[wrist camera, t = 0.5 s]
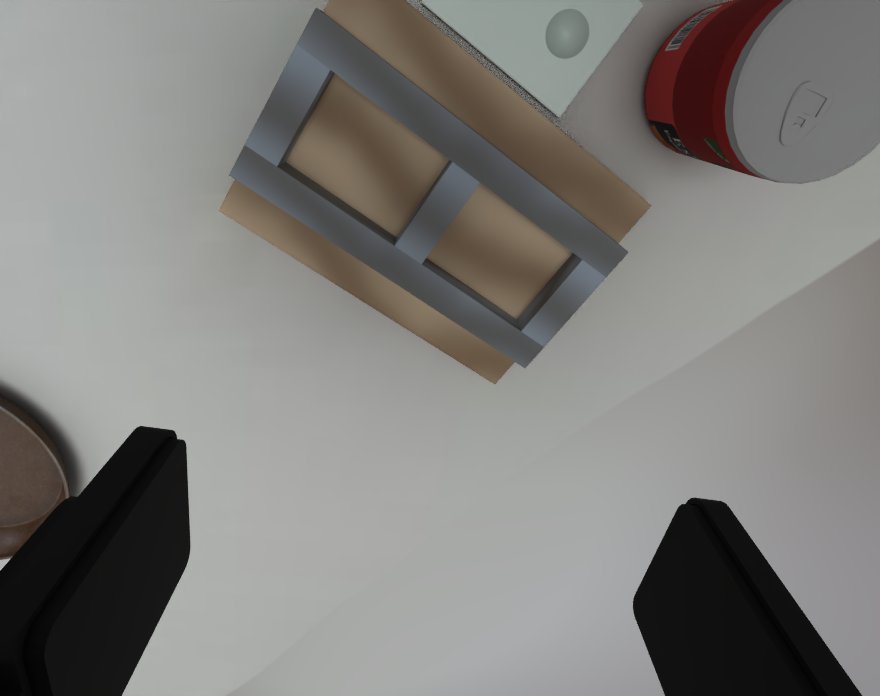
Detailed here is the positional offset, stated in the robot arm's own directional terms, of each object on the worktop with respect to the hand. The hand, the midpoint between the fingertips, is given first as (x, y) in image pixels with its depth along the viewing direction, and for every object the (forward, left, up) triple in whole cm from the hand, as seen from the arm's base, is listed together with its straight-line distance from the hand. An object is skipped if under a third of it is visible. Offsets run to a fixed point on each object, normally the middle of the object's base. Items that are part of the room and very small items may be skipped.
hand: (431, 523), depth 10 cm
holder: (-1, 0, -28) cm, 28 cm away
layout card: (-13, -2, -28) cm, 30 cm away
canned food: (-16, +9, -28) cm, 33 cm away
